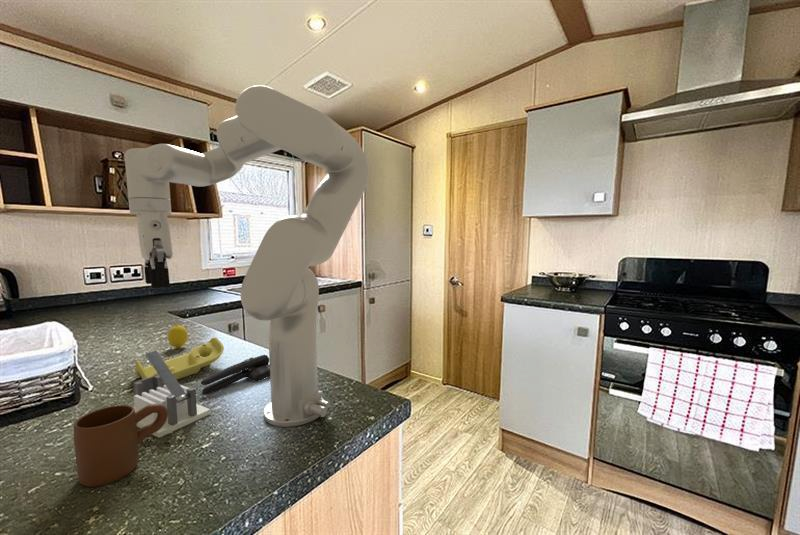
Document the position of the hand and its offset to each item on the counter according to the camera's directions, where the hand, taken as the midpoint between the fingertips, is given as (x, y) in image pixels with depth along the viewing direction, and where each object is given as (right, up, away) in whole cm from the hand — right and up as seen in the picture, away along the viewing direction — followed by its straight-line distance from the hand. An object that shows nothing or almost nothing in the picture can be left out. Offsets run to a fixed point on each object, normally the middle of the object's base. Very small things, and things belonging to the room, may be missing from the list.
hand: (157, 285), depth 78 cm
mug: (+10, -29, -21) cm, 37 cm away
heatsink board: (+5, -27, -5) cm, 28 cm away
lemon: (-19, -23, +38) cm, 48 cm away
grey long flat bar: (+6, -19, -7) cm, 21 cm away
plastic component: (-5, -25, +18) cm, 31 cm away
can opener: (+13, -26, +11) cm, 31 cm away
